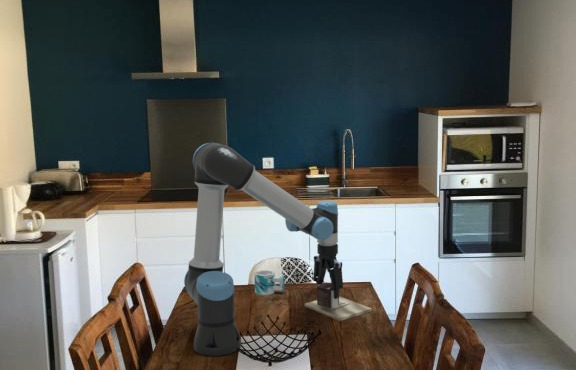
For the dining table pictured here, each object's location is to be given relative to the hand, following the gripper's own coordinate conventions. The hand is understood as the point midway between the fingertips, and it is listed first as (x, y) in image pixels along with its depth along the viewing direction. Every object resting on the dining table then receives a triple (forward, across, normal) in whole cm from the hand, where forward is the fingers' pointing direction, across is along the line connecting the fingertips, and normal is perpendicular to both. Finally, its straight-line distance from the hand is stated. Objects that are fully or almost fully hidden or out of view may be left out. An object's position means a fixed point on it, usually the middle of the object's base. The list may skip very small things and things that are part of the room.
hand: (328, 303), depth 223 cm
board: (+3, 0, -5) cm, 6 cm away
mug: (+3, +32, +4) cm, 32 cm away
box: (+1, 0, 0) cm, 1 cm away
